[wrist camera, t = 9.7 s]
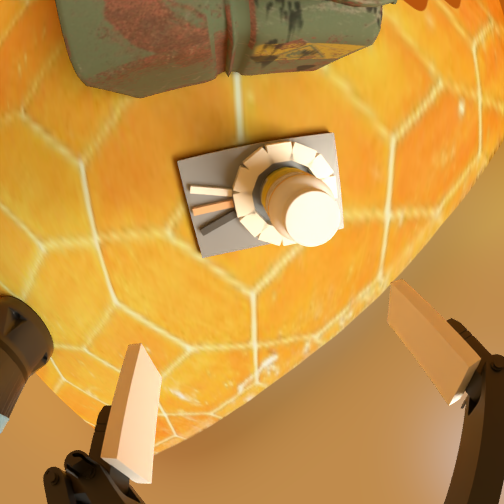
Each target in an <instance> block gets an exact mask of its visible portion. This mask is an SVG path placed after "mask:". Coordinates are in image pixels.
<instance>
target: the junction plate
mask: <svg viewBox="0 0 504 504" xmlns="http://www.w3.org/2000/svg"><path fill="white" fill-rule="evenodd" d="M177 163H178V167H179V171H180V175H181V179H182V183H183V187H184V191H185V195H186V199H187V203H188V207H189V211H190V214H191V218H192V222H193V226H194V229H195V233H196V237H197V240H198V244H199V247H200V251H201V254H202V258H205V257H209V256H214V255H219V254H223V253H228V252H233V251H238V250H242V249H247V248H252V247H256V246H261V245H266V244H271V243H272V244H275V245H279V246H280V244H281V242H282V244H283V246H286V245H290V244H295V243H296V242H295V241H292V240H289V239H287V238H285V237H283V236H282V235H281V234H280V233H278V231H277V230H276V229H275V228H274V226H273V225H272V223H271V221H270V219H269V217H268V215H267V213H266V211H265V209H264V207H263V205H262V203H261V200H260V187H261V184H262V181H263V179H264V178H265V177H266V175H267V174H268V173H270V172H271V171H272V170H274V169H276V168H279V167H285V166H290V167H295V168H298V169H300V170H302V171H304V172H306V173H309V174H311V175H313V176H315V177H317V178H319V179H320V180H322V181H323V182H324V183H325V184H326V185H327V186H328V187H329V188H330V189H331V191H332V193H333V195H334V198H335V201H336V203H337V204H338V207H339V210H340V223H339V227H338V229H342V228H344V225H343V211H342V199H341V188H340V178H339V169H338V161H337V153H336V145H335V138H334V133H322V134H314V135H306V136H298V137H291V138H285V139H278V140H272V141H266V142H260V143H255V144H249V145H244V146H239V147H234V148H229V149H225V150H220V151H215V152H211V153H207V154H202V155H198V156H194V157H190V158H186V159H182V160H179V161H177Z"/></svg>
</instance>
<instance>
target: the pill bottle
mask: <svg viewBox="0 0 504 504" xmlns="http://www.w3.org/2000/svg"><path fill="white" fill-rule="evenodd" d="M260 200H261V203H262V205H263V207H264V209H265V211H266V213H267V215H268V217H269V219H270V221H271V223H272V225H273V226H274V228H275V229H276V230H277V231H278V233H280V234H281V235H282V236H283V237H285V238H287V239H289V240H292V241H295V242H296V243H298V244H300V245H303V246H308V247H313V246H318V245H321V244H324V243H325V242H327V241H328V240H330V239H331V238H332V237H333V236H334V234H335V233H336V231H337V229H338V227H339V223H340V210H339V207H338V204H337V203H336V201H335V198H334V195H333V193H332V191H331V189H330V188H329V187H328V186H327V185H326V184H325V183H324V182H323V181H322V180H320V179H319V178H317V177H315V176H313V175H311V174H309V173H306V172H304V171H302V170H300V169H298V168H295V167H290V166H285V167H279V168H276V169H274V170H272V171H271V172H270V173H268V174H267V175H266V177H265V178H264V179H263V181H262V184H261V187H260Z"/></svg>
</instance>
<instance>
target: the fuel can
mask: <svg viewBox="0 0 504 504" xmlns="http://www.w3.org/2000/svg"><path fill="white" fill-rule="evenodd" d="M55 2H56V7H57V12H58V16H59V21H60V25H61V29H62V33H63V37H64V41H65V44H66V48H67V52H68V55H69V58H70V61H71V63H72V65H73V68H74V70H75V72H76V74H77V75H78V77H79V78H80V79H81V81H82V82H83V83H84V84H85V85H86V86H90V87H95V88H99V89H104V90H108V91H112V92H117V93H121V94H125V95H129V96H133V97H136V98H144V97H147V96H151V95H154V94H158V93H162V92H166V91H169V90H174V89H178V88H182V87H186V86H191V85H196V84H200V83H205V82H208V81H211V80H213V79H215V78H216V76H217V75H218V74H220V73H222V72H224V71H226V73H227V75H228V77H229V74H230V73H231V71H235V72H239V73H240V74H241V75H259V74H269V73H280V72H296V71H314V70H317V69H319V68H321V67H323V66H325V65H327V64H329V63H331V62H334V61H336V60H338V59H340V58H342V57H344V56H347V55H349V54H351V53H353V52H356V51H358V50H360V49H363V48H365V47H368V46H370V45H372V44H373V43H374V41H375V40H376V38H377V36H378V34H379V32H380V28H381V21H382V5H385V4H389V3H391V4H396V2H397V0H55Z"/></svg>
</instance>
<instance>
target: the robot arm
mask: <svg viewBox="0 0 504 504" xmlns="http://www.w3.org/2000/svg"><path fill="white" fill-rule="evenodd" d="M387 323H388V324H389V325H390V326H391V328H392V329H393V330H394V332H395V333H396V334H397V335H398V337H399V338H400V339H401V341H402V342H403V343H404V345H405V346H406V347H407V349H408V350H409V351H410V352H411V354H412V355H413V357H414V358H415V359H416V360H417V362H418V363H419V365H420V366H421V367H422V369H423V370H424V371H425V373H426V374H427V376H428V377H429V378H430V380H431V381H432V383H433V384H434V385H435V387H436V388H437V390H438V391H439V393H440V394H441V395H442V397H443V398H444V400H445V401H446V403H447V404H448V405H451V404H452V403H454V402H456V401H457V400H459V399H460V398H461V397H462V395H463V393H464V391H466V392H467V393H468V396H467V397H466V399H465V401H464V402H463V404H462V407H461V408H464V406H465V404H466V408H465V416H464V424H463V429H462V435H461V441H460V446H459V451H458V456H457V460H456V464H455V468H454V472H453V476H452V479H451V483H450V487H449V490H448V493H447V496H446V499H445V502H444V504H498V503H499V499H500V495H501V490H502V486H503V481H504V357H503V356H501V355H498V354H496V355H491V354H490V353H489V352H488V351H487V350H486V349H485V348H484V347H483V346H482V344H481V343H480V342H479V341H478V340H477V339H476V338H475V337H474V336H472V334H471V333H470V332H469V331H467V329H466V328H465V327H464V326H463V325H462V324H461V323H460V322H458V321H456V320H454V319H452V318H451V319H449V320H447V321H446V320H445V319H444V318H443V317H442V316H441V315H440V314H439V313H438V312H437V311H436V310H435V309H434V308H433V307H432V306H431V305H430V304H428V303H427V301H426V300H425V299H424V298H422V297H421V296H420V295H419V294H418V293H417V292H416V291H415V290H414V289H413V288H412V287H411V286H410V285H409V284H408V283H406V281H404V280H403V279H400V280H397V281H394V282H391V286H390V299H389V309H388V319H387ZM52 353H53V341H52V338H51V335H50V333H49V331H48V329H47V327H46V326H45V324H44V323H43V321H42V320H41V319H40V318H39V316H38V315H37V314H36V313H35V312H34V311H33V310H32V309H31V308H30V307H29V306H27V305H26V304H25V303H23V302H22V301H20V300H18V299H16V298H14V297H11V296H3V297H1V298H0V433H1V432H2V430H3V428H4V427H5V425H6V423H7V422H8V421H9V417H10V414H11V412H12V410H13V408H14V406H15V404H16V402H17V399H18V397H19V395H20V393H21V391H22V389H23V387H24V385H25V383H26V381H27V380H28V378H29V377H30V376H31V375H32V374H34V373H35V372H36V371H38V370H39V369H40V368H41V367H43V366H44V365H45V364H46V363H47V362H48V361H49V359H50V357H51V355H52ZM161 381H162V377H161V376H160V374H159V372H158V371H157V369H156V367H155V366H154V364H153V362H152V361H151V359H150V357H149V356H148V354H147V352H146V350H145V349H144V347H143V345H142V343H139V344H132V345H128V349H127V352H126V355H125V359H124V362H123V365H122V369H121V372H120V376H119V380H118V383H117V387H116V391H115V394H114V398H113V402H112V405H111V406H104V407H103V408H102V410H101V411H100V413H99V415H98V419H97V425H96V427H95V433H94V435H93V439H92V444H91V449H90V453H89V456H88V455H87V454H86V453H85V452H83V451H80V450H76V451H73V452H71V453H69V454H68V455H67V457H66V459H65V462H64V467H65V470H66V472H64V471H62V470H61V469H59V468H57V467H51V468H49V469H47V471H46V472H45V474H44V478H43V479H44V480H43V481H44V487H45V493H46V498H47V502H48V504H145V503H144V501H143V500H142V499H141V498H140V497H139V495H138V494H137V493H136V491H135V490H134V489H133V487H132V486H131V485H129V479H131V480H133V481H134V482H136V483H149V484H151V483H152V468H153V454H154V442H155V432H156V422H157V413H158V404H159V396H160V388H161Z"/></svg>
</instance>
